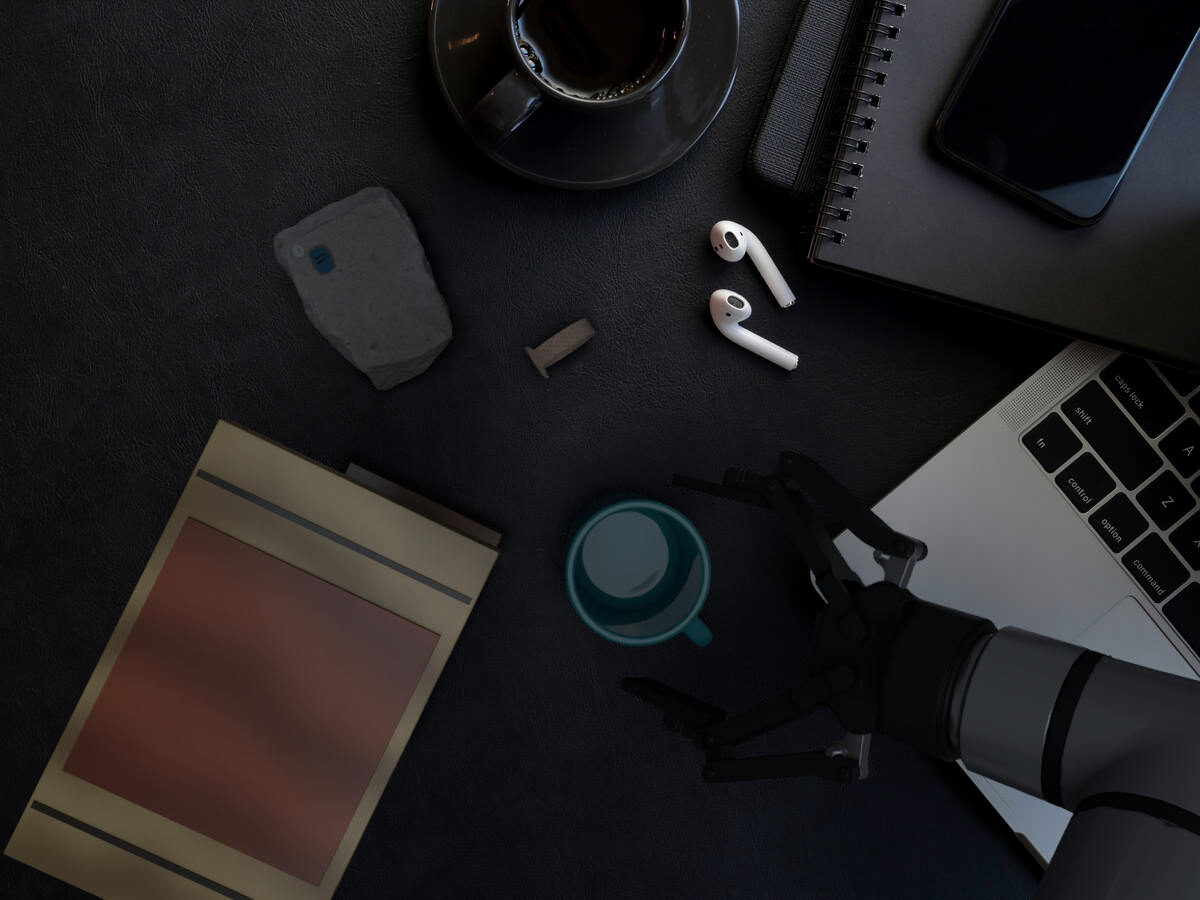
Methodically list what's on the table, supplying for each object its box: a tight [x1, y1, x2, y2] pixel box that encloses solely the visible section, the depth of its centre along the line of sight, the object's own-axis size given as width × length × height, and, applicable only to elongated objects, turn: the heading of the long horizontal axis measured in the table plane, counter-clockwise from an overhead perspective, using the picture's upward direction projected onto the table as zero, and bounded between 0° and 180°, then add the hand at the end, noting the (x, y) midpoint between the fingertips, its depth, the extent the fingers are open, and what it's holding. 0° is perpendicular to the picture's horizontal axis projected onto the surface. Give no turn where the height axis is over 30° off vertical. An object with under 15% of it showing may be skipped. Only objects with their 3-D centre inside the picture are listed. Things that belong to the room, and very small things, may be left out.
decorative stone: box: [273, 185, 453, 391], centre depth 65 cm, size 13×10×6 cm
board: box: [3, 418, 502, 900], centre depth 40 cm, size 20×13×2 cm, turn 154°
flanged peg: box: [524, 317, 596, 379], centre depth 66 cm, size 3×5×5 cm, turn 123°
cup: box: [562, 492, 715, 648], centre depth 63 cm, size 9×12×11 cm
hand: (659, 582), depth 61 cm, fingers open, 13 cm apart
